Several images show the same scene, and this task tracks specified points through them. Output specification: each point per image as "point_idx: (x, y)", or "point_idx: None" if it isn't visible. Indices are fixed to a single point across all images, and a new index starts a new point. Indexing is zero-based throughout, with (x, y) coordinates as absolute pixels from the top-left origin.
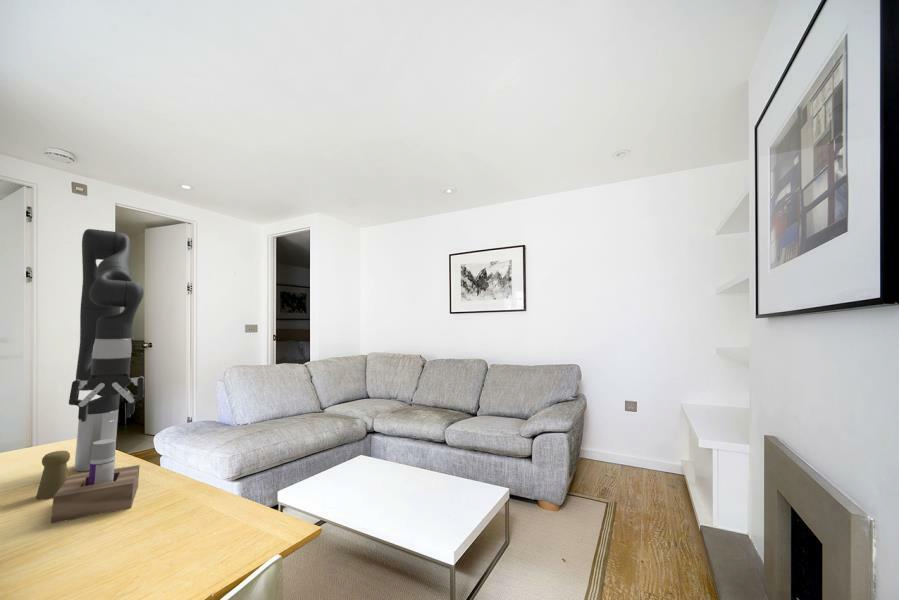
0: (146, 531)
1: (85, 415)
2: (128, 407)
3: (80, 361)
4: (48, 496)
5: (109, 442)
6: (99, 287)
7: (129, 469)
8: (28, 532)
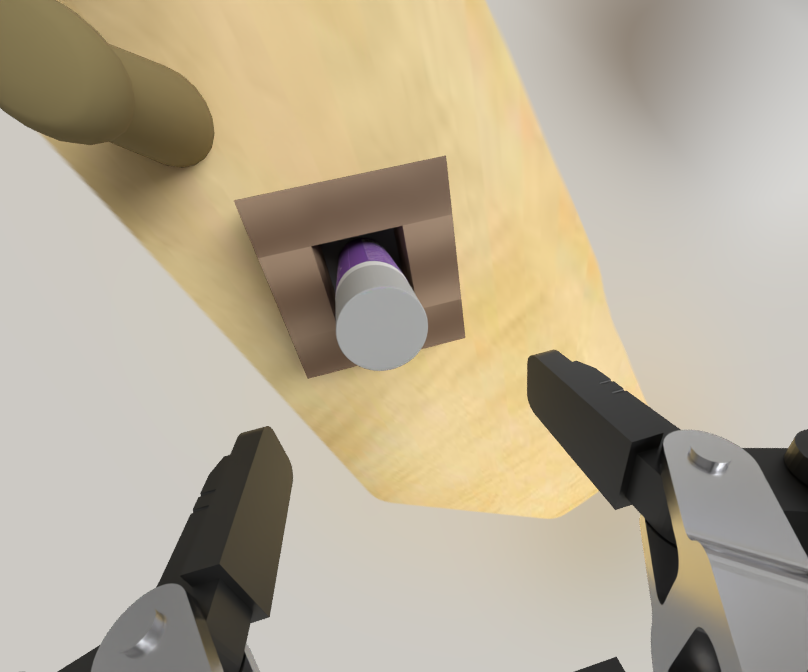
0: (489, 411)
1: (285, 517)
2: (592, 468)
3: None
4: (181, 164)
5: (412, 353)
6: None
7: (424, 203)
8: (293, 370)
